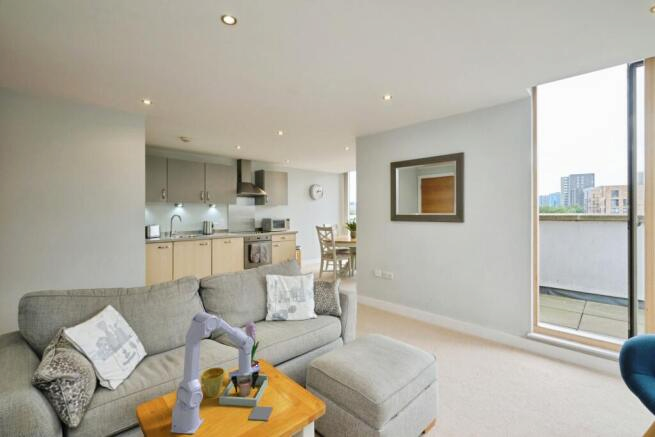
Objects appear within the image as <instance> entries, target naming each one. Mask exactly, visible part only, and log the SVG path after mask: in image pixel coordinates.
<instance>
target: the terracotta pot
mask: <svg viewBox="0 0 655 437" xmlns="http://www.w3.org/2000/svg"><path fill="white" fill-rule="evenodd" d="M250 384H251V379H250V378H243V379H241V380H239V382H238V384H237V386H239V387H238V388H239V391H238V392H239V394H238V395H239V397H243V398H248V397H249V396H250V395H251V385H250Z"/></svg>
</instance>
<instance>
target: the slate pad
mask: <svg viewBox="0 0 655 437" xmlns="http://www.w3.org/2000/svg"><path fill="white" fill-rule="evenodd" d="M273 408H274V407H273V406H261V405H257V406H253V409H252V411H251V413H250V415H249V417H248V420H249V421H261V422H262V421H263V422H265V421H266V422H268V421H269V418H270V416H271V413H272V411H273V410H274V409H273Z"/></svg>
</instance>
